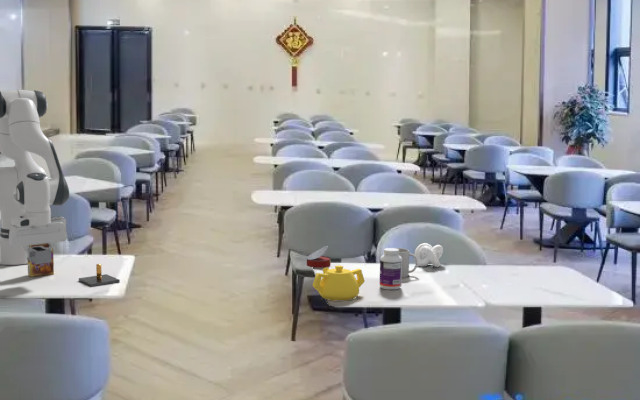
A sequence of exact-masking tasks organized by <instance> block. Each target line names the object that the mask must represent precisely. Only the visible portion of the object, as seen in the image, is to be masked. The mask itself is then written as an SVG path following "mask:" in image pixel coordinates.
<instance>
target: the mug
mask: <svg viewBox="0 0 640 400" xmlns="http://www.w3.org/2000/svg"><path fill="white" fill-rule="evenodd" d="M395 248H396V249H399V254H398V255H399V256H401V257H402V278H407V277H409V274H411V273H413V272H414V271H416V269H417V267H418V265H417V258H416V257H415V255H414V253H411V252H410V249H407V248H404V247H403V248H402V247H395ZM410 256H411V257H413V260H414V259H415V260H414V262H415V261H416V262H415V266H414V267H413V269H410Z"/></svg>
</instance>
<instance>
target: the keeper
mask: <svg viewBox="0 0 640 400" xmlns="http://www.w3.org/2000/svg"><path fill="white" fill-rule="evenodd" d="M95 267H96V270H95V271H96V273H95V274H96V275H92V276H85V277H78V282H80V283H83V284H85V285H87V286H89V287H92V288H93V287H99V286H106V285H111V284H118V283H120V279H119V278H117V277H113V276H111V275H109V274H102V264H101V263H96V265H95Z"/></svg>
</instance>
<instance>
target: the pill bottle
mask: <svg viewBox="0 0 640 400" xmlns="http://www.w3.org/2000/svg"><path fill="white" fill-rule="evenodd" d="M396 248H397V247H386V248H384V249H383V254H382V255H381V256H380V259H379V287H380V288H381V289H382V290H383V289H384V290H389V291H390V290H391V291H392V290H394V291H395V290H400V289H401V288H402V257H401V256H399V255H398V254H399V249H396Z"/></svg>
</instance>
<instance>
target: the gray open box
mask: <svg viewBox="0 0 640 400" xmlns="http://www.w3.org/2000/svg"><path fill="white" fill-rule="evenodd" d="M28 251H29V252H32V257H30V258H27V260H29V261H31V262H33V263H34V264H43V263H51V250H49V249H47V248H45V247H43V246H35V247H29V249H28Z"/></svg>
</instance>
